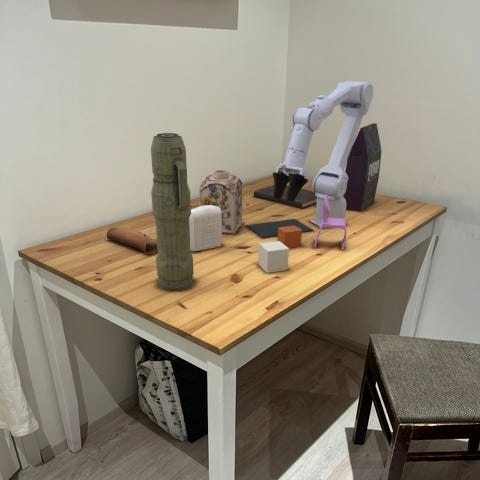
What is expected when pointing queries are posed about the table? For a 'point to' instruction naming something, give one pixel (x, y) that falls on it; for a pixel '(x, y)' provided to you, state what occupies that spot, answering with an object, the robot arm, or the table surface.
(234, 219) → the decorative jar
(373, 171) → the decorative box
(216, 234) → the photo printer
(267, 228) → the back mat
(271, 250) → the white cube
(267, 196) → the hardcover book
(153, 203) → the thermos
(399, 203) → the table surface
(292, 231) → the orange box
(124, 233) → the sunglasses case
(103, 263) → the table surface
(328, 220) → the toy chair
